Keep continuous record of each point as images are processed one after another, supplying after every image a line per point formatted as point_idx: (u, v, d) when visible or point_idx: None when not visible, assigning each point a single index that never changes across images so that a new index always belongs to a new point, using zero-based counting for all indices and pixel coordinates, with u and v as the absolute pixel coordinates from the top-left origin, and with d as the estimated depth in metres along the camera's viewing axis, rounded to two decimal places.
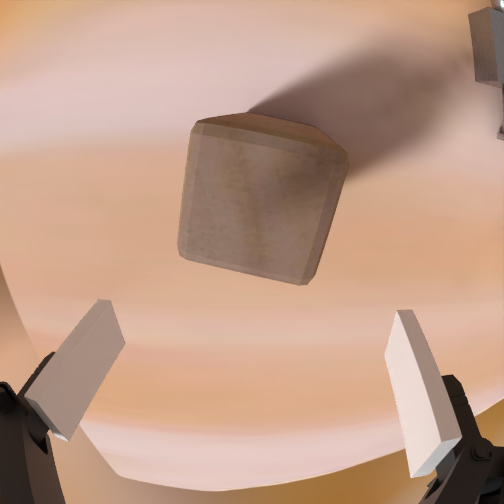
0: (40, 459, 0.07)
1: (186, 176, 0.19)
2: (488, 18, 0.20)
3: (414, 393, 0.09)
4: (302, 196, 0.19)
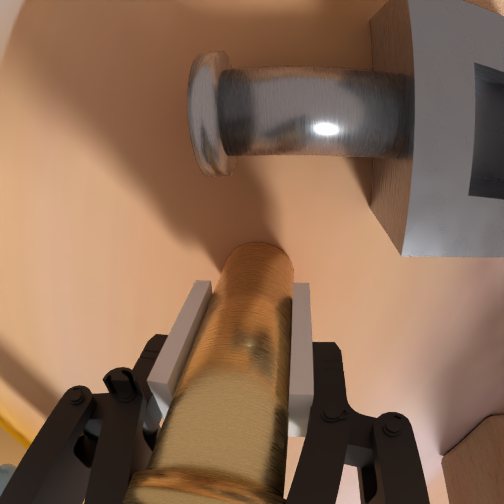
0: (145, 459, 0.08)
1: None
2: None
3: None
4: None
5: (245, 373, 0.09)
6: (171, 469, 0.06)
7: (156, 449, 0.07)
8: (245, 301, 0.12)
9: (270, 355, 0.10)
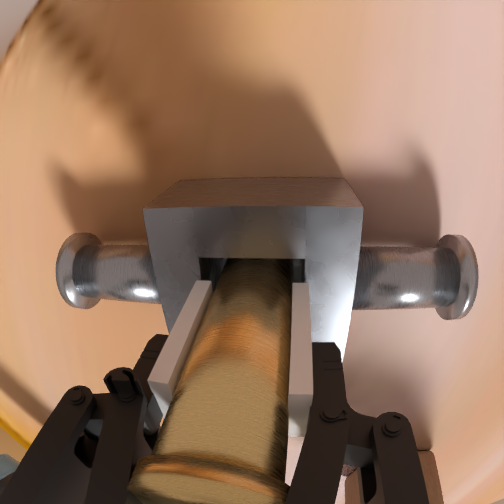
0: None
1: None
2: None
3: None
4: None
5: (247, 361, 0.09)
6: (176, 453, 0.06)
7: (160, 436, 0.07)
8: (247, 294, 0.13)
9: (271, 345, 0.11)
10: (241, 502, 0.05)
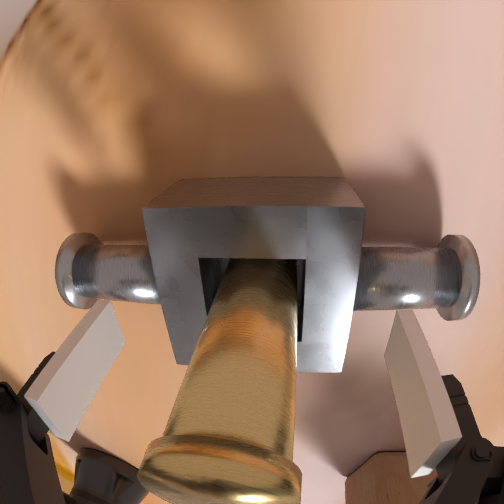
0: (40, 459, 0.07)
1: None
2: None
3: (414, 393, 0.09)
4: None
5: (255, 347, 0.10)
6: (187, 434, 0.07)
7: (171, 419, 0.08)
8: (253, 284, 0.13)
9: (277, 333, 0.11)
10: (252, 479, 0.06)
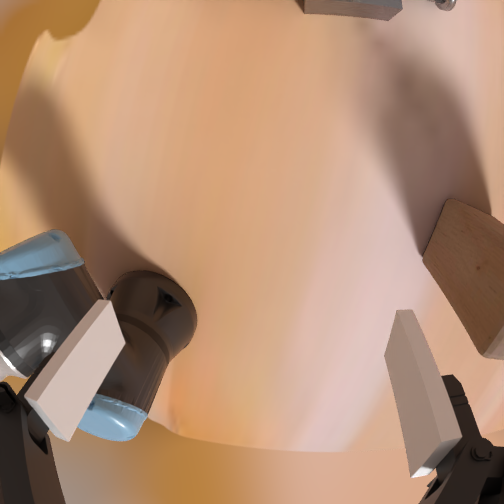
0: (40, 459, 0.07)
1: (502, 359, 0.22)
2: (321, 1, 0.23)
3: (414, 393, 0.09)
4: None
5: None
6: None
7: None
8: None
9: None
10: None
